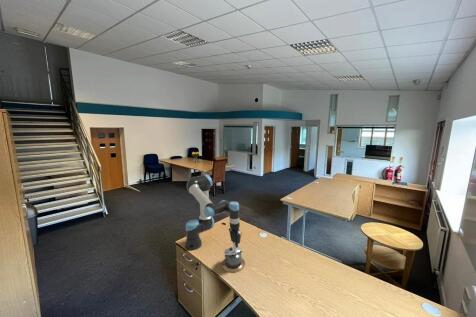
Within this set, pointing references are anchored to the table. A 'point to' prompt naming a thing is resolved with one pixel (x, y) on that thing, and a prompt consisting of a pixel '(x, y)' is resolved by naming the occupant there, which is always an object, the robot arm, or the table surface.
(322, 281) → the table surface
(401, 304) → the table surface
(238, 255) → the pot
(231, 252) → the lid
